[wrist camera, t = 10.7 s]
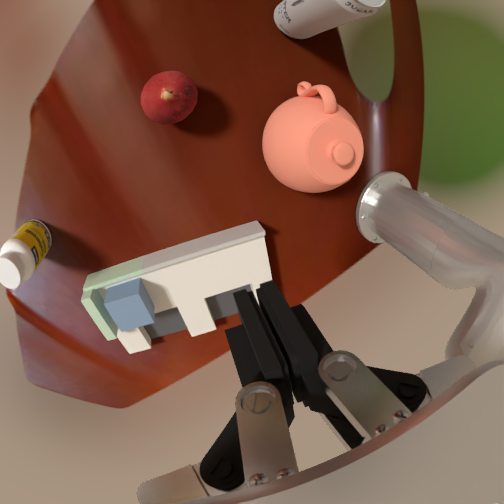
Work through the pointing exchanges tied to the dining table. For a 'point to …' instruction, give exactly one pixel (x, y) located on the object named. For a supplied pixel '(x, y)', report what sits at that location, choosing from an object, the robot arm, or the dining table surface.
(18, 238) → the supplement bottle
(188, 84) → the onion
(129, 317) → the block
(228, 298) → the box
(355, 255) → the dining table surface
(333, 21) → the energy drink can
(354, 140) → the sugar bowl
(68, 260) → the dining table surface
